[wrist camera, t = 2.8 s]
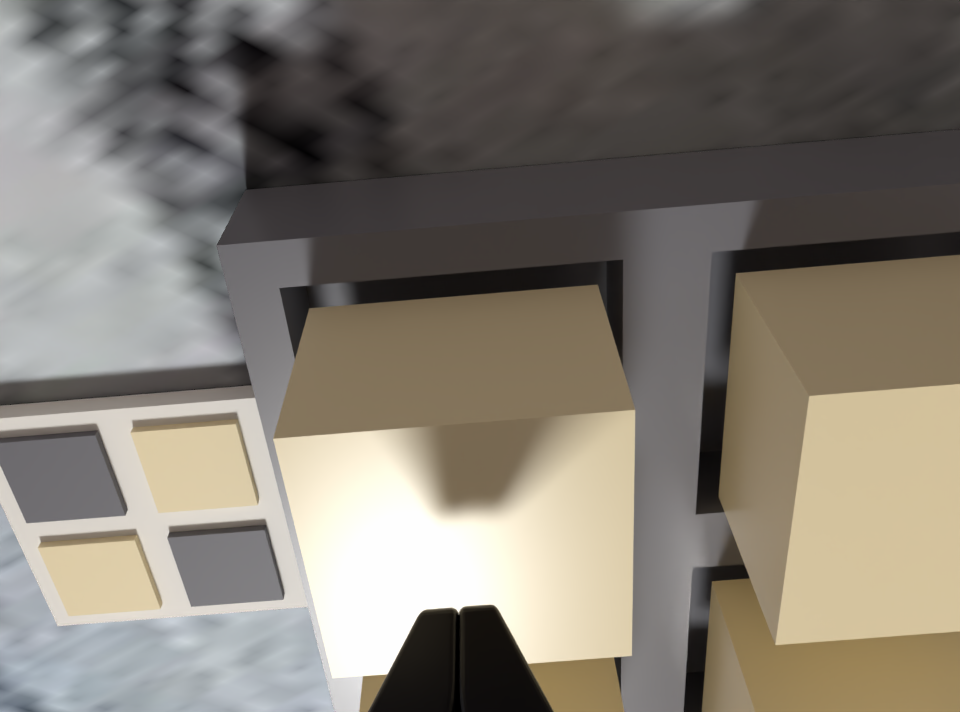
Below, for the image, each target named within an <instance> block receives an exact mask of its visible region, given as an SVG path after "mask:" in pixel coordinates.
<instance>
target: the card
mask: <svg viewBox="0 0 960 712" xmlns="http://www.w3.org/2000/svg"><path fill="white" fill-rule="evenodd" d="M0 503H1V505H2V507H3V510H4V512H5V514H6V516H7V518H8V520H9V523H10V525H11V527H12V529H13V531H14V533H15V535H16V538H17V540H18V542H19V544H20V546H21V548H22V550H23V553H24V555H25V557H26V559H27V561H28V563H29V565H30V568H31V570H32V572H33V574H34V576H35V578H36V580H37V583H38V585H39V587H40V589H41V591H42V593H43V595H44V598H45V600H46V602H47V604H48V606H49V608H50V610H51V613H52V615H53V617H54V619H55V621H56V623H57V625H58V626H65V625H78V624H91V623H104V622H117V621H131V620H144V619H157V618H170V617H183V616H196V615H209V614H222V613H235V612H248V611H261V610H274V609H288V608H301V607H308V605H307V601H306V597H305V593H304V589H303V585H302V581H301V577H300V573H299V569H298V566H297V562H296V558H295V554H294V550H293V546H292V542H291V538H290V534H289V530H288V526H287V522H286V518H285V514H284V510H283V506H282V502H281V498H280V494H279V490H278V486H277V483H276V479H275V475H274V471H273V467H272V463H271V459H270V455H269V451H268V447H267V443H266V439H265V435H264V431H263V427H262V423H261V419H260V415H259V411H258V407H257V403H256V400H255V396H254V392H253V388H252V385H250V386H237V387H225V388H213V389H200V390H188V391H176V392H163V393H151V394H139V395H126V396H114V397H102V398H89V399H77V400H64V401H52V402H40V403H27V404H15V405H3V406H0Z"/></svg>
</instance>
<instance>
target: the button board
mask: <svg viewBox="0 0 960 712" xmlns="http://www.w3.org/2000/svg"><path fill="white" fill-rule="evenodd" d="M217 249H218V253H219V257H220V261H221V265H222V269H223V273H224V277H225V281H226V285H227V289H228V293H229V297H230V301H231V305H232V309H233V313H234V317H235V320H236V324H237V328H238V332H239V336H240V340H241V344H242V348H243V352H244V356H245V360H246V364H247V368H248V372H249V376H250V380H251V384H252V388H253V392H254V396H255V400H256V403H257V407H258V411H259V415H260V419H261V423H262V427H263V431H264V435H265V439H266V443H267V447H268V451H269V455H270V459H271V463H272V467H273V471H274V475H275V479H276V483H277V486H278V490H279V494H280V498H281V502H282V506H283V510H284V514H285V518H286V522H287V526H288V530H289V534H290V538H291V542H292V546H293V550H294V554H295V558H296V562H297V566H298V569H299V573H300V577H301V581H302V585H303V589H304V593H305V597H306V601H307V605H308V609H309V613H310V617H311V621H312V625H313V629H314V633H315V637H316V641H317V645H318V649H319V652H320V656H321V660H322V664H323V668H324V672H325V676H326V680H327V684H328V688H329V692H330V696H331V700H332V704H333V708H334V712H359V709H360V699H361V689H362V679H363V676H357V677H344V678H332V675H331V671H330V667H329V663H328V659H327V655H326V651H325V647H324V643H323V639H322V634H321V630H320V626H319V622H318V618H317V614H316V610H315V606H314V602H313V598H312V594H311V590H310V586H309V582H308V578H307V574H306V570H305V566H304V562H303V558H302V554H301V550H300V546H299V542H298V538H297V533H296V529H295V525H294V521H293V517H292V513H291V509H290V505H289V501H288V497H287V493H286V489H285V485H284V481H283V477H282V473H281V469H280V465H279V461H278V457H277V453H276V449H275V445H274V441H273V437H274V434H275V430H276V426H277V423H278V419H279V416H280V412H281V408H282V405H283V401H284V397H285V394H286V390H287V387H288V383H289V379H290V376H291V372H292V369H293V365H294V361H295V358H296V354H297V351H298V347H299V343H300V340H301V336H302V332H303V329H304V325H305V322H306V318H307V314H308V311H309V308H319V307H331V306H344V305H356V304H368V303H380V302H392V301H404V300H416V299H429V298H441V297H453V296H465V295H477V294H489V293H501V292H514V291H526V290H538V289H550V288H562V287H574V286H586V285H598V287H599V291H600V294H601V297H602V301H603V304H604V307H605V311H606V314H607V317H608V321H609V324H610V327H611V331H612V334H613V337H614V340H615V344H616V347H617V350H618V354H619V357H620V360H621V364H622V367H623V370H624V374H625V377H626V380H627V384H628V387H629V390H630V394H631V397H632V400H633V404H634V407H635V470H634V540H633V610H632V656H624V657H614V660H615V665H616V671H617V676H618V681H619V687H620V692H621V697H622V702H623V708H624V712H702V702H703V689H704V676H705V663H706V651H707V638H708V625H709V612H710V599H711V586H712V581H722V580H736V579H749V578H750V577H749V575H748V572H747V570H746V567H745V564H744V562H743V559H742V557H741V554H740V551H739V549H738V546H737V543H736V541H735V538H734V536H733V533H732V530H731V528H730V525H729V523H728V520H727V517H726V515H725V512H724V509H723V507H722V504H721V502H720V499H719V484H720V471H721V458H722V445H723V432H724V420H725V407H726V394H727V381H728V368H729V355H730V343H731V330H732V317H733V304H734V291H735V278H736V273H744V272H756V271H768V270H781V269H793V268H805V267H817V266H829V265H841V264H853V263H866V262H878V261H890V260H902V259H914V258H926V257H938V256H951V255H960V129H957V130H946V131H934V132H922V133H910V134H898V135H887V136H875V137H863V138H851V139H839V140H828V141H816V142H804V143H792V144H780V145H769V146H757V147H745V148H733V149H722V150H710V151H698V152H686V153H674V154H663V155H651V156H639V157H627V158H615V159H604V160H592V161H580V162H568V163H557V164H545V165H533V166H521V167H509V168H498V169H486V170H474V171H462V172H450V173H439V174H427V175H415V176H403V177H392V178H380V179H368V180H356V181H344V182H333V183H321V184H309V185H297V186H285V187H274V188H262V189H250V190H245V192H244V194H243V196H242V198H241V200H240V201H239V203H238V205H237V207H236V209H235V211H234V213H233V215H232V217H231V219H230V221H229V223H228V225H227V226H226V228H225V230H224V232H223V234H222V236H221V238H220V240H219V242H218V244H217Z"/></svg>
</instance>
